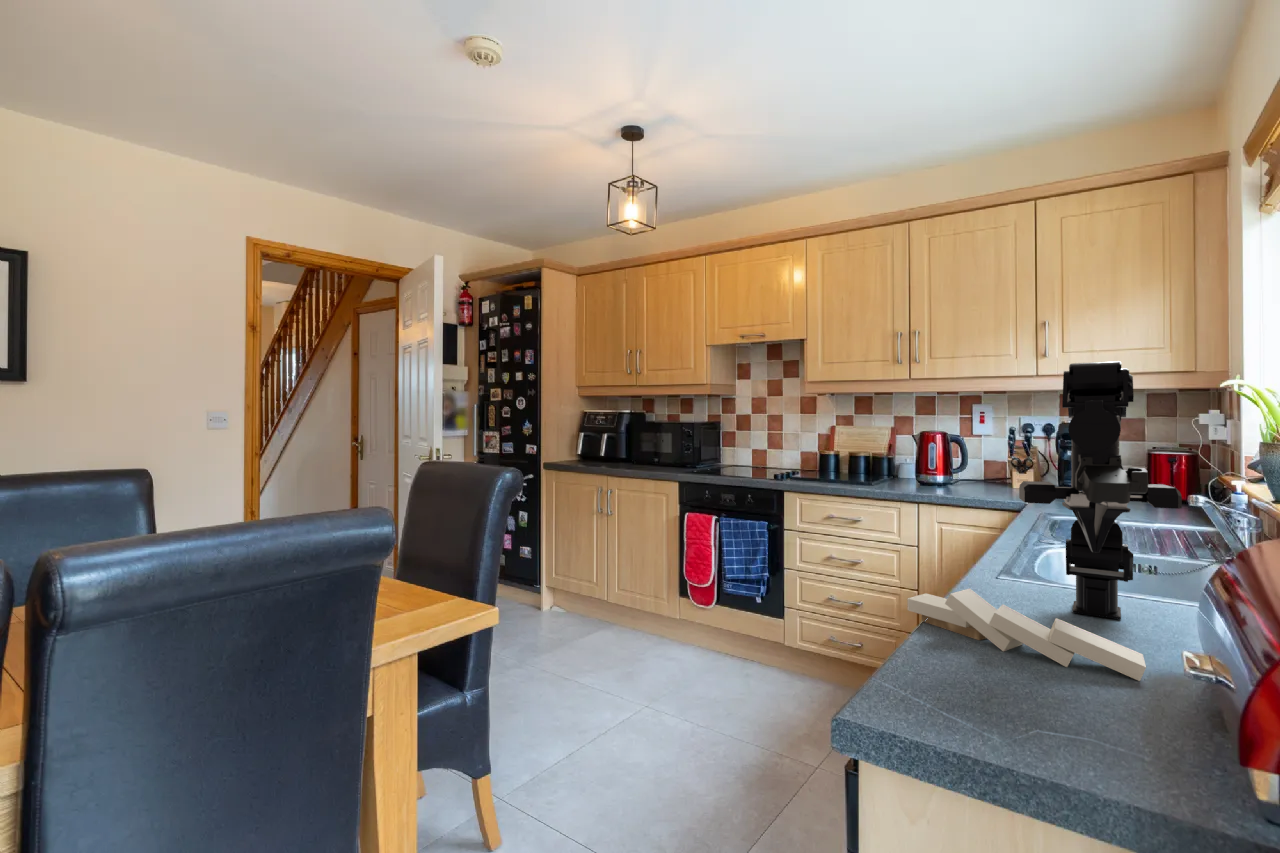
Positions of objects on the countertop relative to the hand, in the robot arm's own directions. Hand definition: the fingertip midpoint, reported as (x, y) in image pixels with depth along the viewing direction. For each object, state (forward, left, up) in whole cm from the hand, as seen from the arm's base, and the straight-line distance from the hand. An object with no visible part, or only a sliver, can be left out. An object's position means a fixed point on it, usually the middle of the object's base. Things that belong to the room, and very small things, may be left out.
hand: (1095, 552), depth 92 cm
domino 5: (+12, +5, -12) cm, 18 cm away
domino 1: (+7, -15, -11) cm, 20 cm away
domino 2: (+8, -13, -13) cm, 20 cm away
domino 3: (+11, -9, -12) cm, 19 cm away
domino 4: (+12, -2, -12) cm, 17 cm away
